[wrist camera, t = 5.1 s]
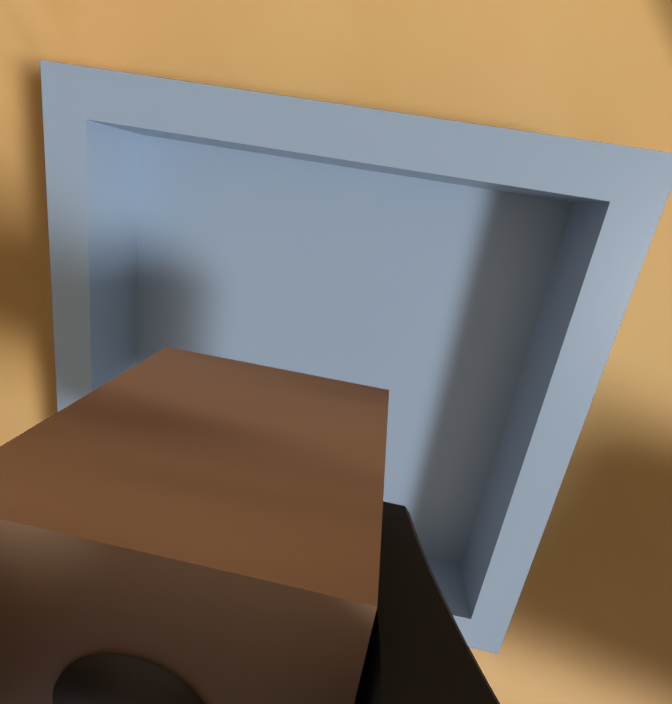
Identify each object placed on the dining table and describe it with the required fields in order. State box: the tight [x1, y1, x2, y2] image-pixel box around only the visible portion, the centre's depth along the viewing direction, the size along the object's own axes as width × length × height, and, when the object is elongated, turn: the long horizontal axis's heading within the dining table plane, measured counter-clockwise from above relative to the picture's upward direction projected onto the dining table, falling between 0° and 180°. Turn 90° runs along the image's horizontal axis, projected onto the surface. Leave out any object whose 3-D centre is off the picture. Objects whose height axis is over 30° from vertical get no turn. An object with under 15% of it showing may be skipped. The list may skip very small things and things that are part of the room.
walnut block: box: [0, 347, 389, 704], centre depth 7 cm, size 4×4×5 cm
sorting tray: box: [40, 60, 672, 654], centre depth 15 cm, size 16×16×3 cm
